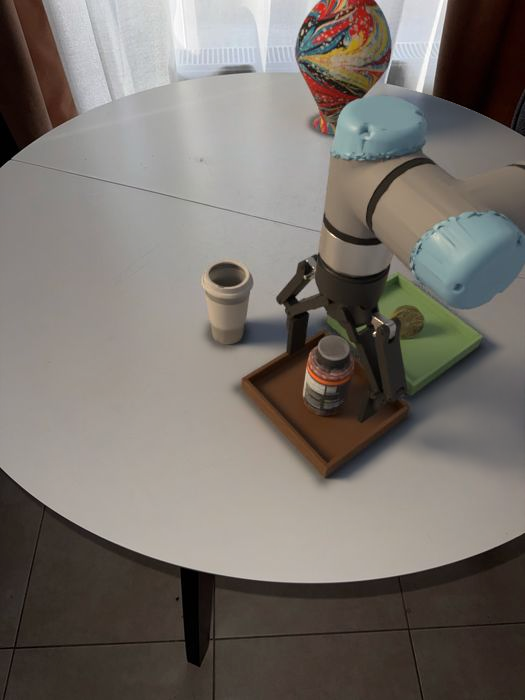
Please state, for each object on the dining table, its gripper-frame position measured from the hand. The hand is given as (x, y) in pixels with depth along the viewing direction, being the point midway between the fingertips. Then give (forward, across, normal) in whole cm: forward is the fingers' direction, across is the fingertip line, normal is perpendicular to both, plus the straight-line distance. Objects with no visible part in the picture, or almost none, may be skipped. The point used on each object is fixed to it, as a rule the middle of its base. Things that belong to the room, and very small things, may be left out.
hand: (329, 381), depth 75 cm
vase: (+4, +53, -51) cm, 74 cm away
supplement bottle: (+5, 0, 0) cm, 5 cm away
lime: (+5, +2, -18) cm, 19 cm away
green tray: (+5, +2, -18) cm, 19 cm away
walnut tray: (+5, 0, 0) cm, 5 cm away
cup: (+5, +18, +3) cm, 19 cm away
